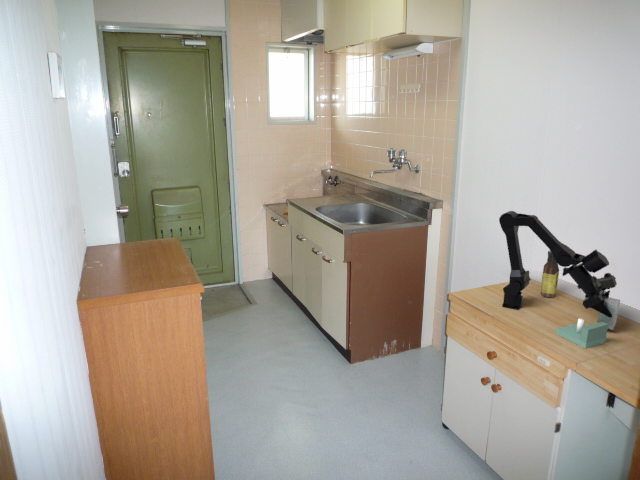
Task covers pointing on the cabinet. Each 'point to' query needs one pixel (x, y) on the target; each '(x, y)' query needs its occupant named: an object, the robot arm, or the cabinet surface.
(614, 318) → the gray upright column
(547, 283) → the sauce bottle
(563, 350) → the cabinet surface
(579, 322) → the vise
